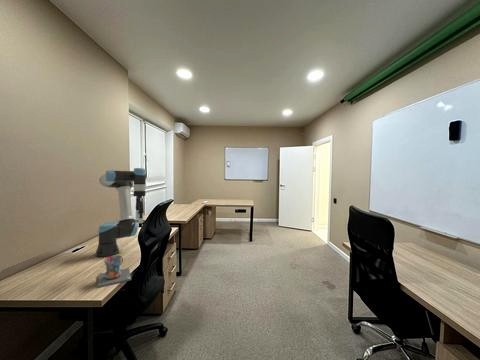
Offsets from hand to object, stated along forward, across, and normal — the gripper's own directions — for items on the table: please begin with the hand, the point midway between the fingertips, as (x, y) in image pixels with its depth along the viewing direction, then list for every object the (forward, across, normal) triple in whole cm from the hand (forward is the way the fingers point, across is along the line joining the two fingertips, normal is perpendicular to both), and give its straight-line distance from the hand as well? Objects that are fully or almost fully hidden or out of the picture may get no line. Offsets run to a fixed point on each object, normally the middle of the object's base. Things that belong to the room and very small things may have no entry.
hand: (139, 221), depth 145 cm
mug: (+28, +16, -15) cm, 35 cm away
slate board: (+29, +17, -15) cm, 37 cm away
